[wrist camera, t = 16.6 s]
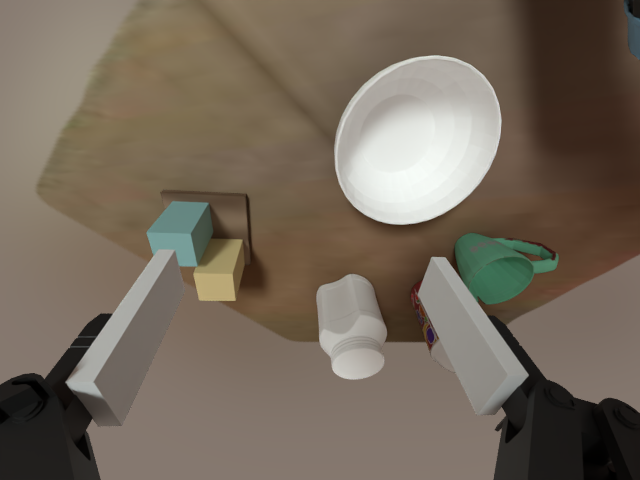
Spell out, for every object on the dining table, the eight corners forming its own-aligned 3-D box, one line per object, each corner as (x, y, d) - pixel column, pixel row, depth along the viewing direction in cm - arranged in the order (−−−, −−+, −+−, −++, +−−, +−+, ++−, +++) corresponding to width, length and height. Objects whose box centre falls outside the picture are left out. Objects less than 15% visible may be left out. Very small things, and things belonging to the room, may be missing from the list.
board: (163, 189, 42) (160, 192, 41) (246, 193, 43) (245, 196, 42) (180, 259, 49) (178, 263, 48) (250, 261, 50) (250, 264, 49)
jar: (329, 319, 60) (337, 389, 48) (308, 290, 55) (311, 360, 42) (380, 299, 58) (402, 368, 45) (363, 268, 53) (383, 335, 40)
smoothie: (396, 299, 58) (436, 399, 41) (418, 269, 54) (471, 367, 37) (431, 307, 60) (482, 405, 43) (454, 278, 56) (520, 376, 39)
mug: (441, 270, 54) (467, 310, 46) (439, 229, 49) (468, 265, 41) (520, 251, 53) (561, 289, 45) (527, 206, 47) (576, 239, 39)
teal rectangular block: (172, 201, 42) (146, 232, 35) (208, 202, 42) (190, 233, 35) (179, 231, 45) (156, 265, 37) (213, 232, 45) (197, 266, 38)
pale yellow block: (209, 238, 46) (193, 273, 39) (242, 239, 46) (232, 274, 39) (213, 263, 49) (199, 300, 41) (244, 264, 49) (235, 300, 42)
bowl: (443, 196, 45) (471, 223, 38) (326, 197, 44) (331, 226, 37) (483, 55, 35) (531, 57, 28) (330, 52, 34) (339, 53, 26)
